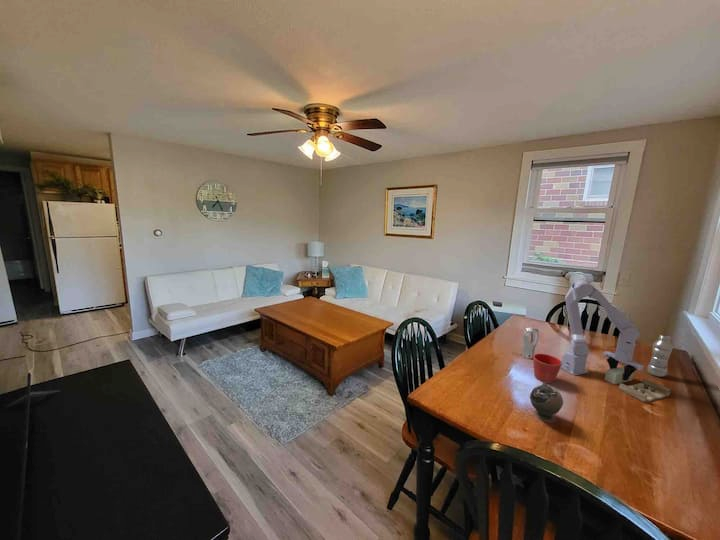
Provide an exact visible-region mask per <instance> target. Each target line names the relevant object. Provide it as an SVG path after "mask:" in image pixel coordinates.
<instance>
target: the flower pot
mask: <svg viewBox="0 0 720 540" xmlns="http://www.w3.org/2000/svg"><path fill="white" fill-rule="evenodd" d="M532 360H533V373H534V378H535V379H536V380H537V381H539V382H542V383H544V382H545V381H546V383H547V384H553V383H554V382H555V381H556V378H557V376H558V374H559V371H561V370H560V369H561V368H560V367H561V365H562V360H560V359H559V358H557V357H556V356H553V355H550V354H548V353H547V354H546V353H534V356H533V359H532Z"/></svg>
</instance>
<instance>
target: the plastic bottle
mask: <svg viewBox="0 0 720 540" xmlns="http://www.w3.org/2000/svg"><path fill="white" fill-rule="evenodd" d="M671 340H672V336H670V335H668V334H664V333H660V334H659V336H658V339H656V340H655V341H653V343H652V353H651V354H652V355H651V359H650V361H649V363H648V364H647V372H648V373H649V374H650V375H652V376H655V377H659V378H664V377H666V376H667V374H668V363H669V359H670V356H671V353H672V351H673V349H674V348H673V344H672V343H671V342H670V341H671Z"/></svg>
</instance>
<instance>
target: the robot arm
mask: <svg viewBox="0 0 720 540" xmlns="http://www.w3.org/2000/svg"><path fill="white" fill-rule="evenodd" d="M587 297H589V299H592V300H593V299H594V300H595V301H597V303H598V304H599V305H600V306H601V307H602V308H603V309H604V310H605V311H606V317H607V318H608V320H610V322H611V323H612V324H613V325H614V326H615V327H616V328H617V329H618V331H619V335H618V340H617V345H616V348H615V352H612V351H611V352H610V351H608V350H605V351H603V357H604V356H605V357H608V358H607V359H606V361H607V363H608V366H609V369H613V368H618V367H619V366H618V365H619V363H622V364H625V365H624V366H623V367H624V376H623V380H624V381H626V380H628V379H629V377H630V375H631V374H632V373H633V372H634V373H635V372H636V371H637V370H638V371H639V372H641V371H643V370H644V367H645V366H644V365H642V364H640V363H638V362H636V361H635V360H633V355H634V351H635V347H636V341H637V339H638V338H639V337H640V336H641V334H640V330H639V329H638V327H637V326H636V325H635V324H634V321H632V320H630V319H629V318H628V316H627V315H626V314H627V313H626V312H625V311H624V310H621V309H619V308H615V307H614V306H613V304H612V303H610V301H609V300H608V299H607V298H606V297H605V296H604V294H603V293H602V292H601V291H600V290H599V289H597V288H596V287H595V286H594V285H593V284H591V283H590V282H589V281H588V280H587V279H585V278H580V279H577V280H575V281H574V282H572V284H571V285H570V287H569V289H568V291H567V293H566V294H565V297H564V300H565V306H566V311H567V316H568V322H569V328H570V337H571V338H570V340H569V343H570V345H571V347H569V349H568V351H567V353H564V354H563V356H562V360H561V362H562V365H561V367H560V369H562V370H564V371H566V372H568V373H570V374H572V375H574V376H578V375H583V374H588V373H590V371H589V370H587V369H586V364H587V359H588V354H589V353H590V347H589V346H588V345H587V341H586V339H585V335H584V330H583V325H582V324H583V323H582V318H581V313H580V308H579V307H580V306H579V302H580V301H581V300H582V299H584V298H587Z"/></svg>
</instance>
